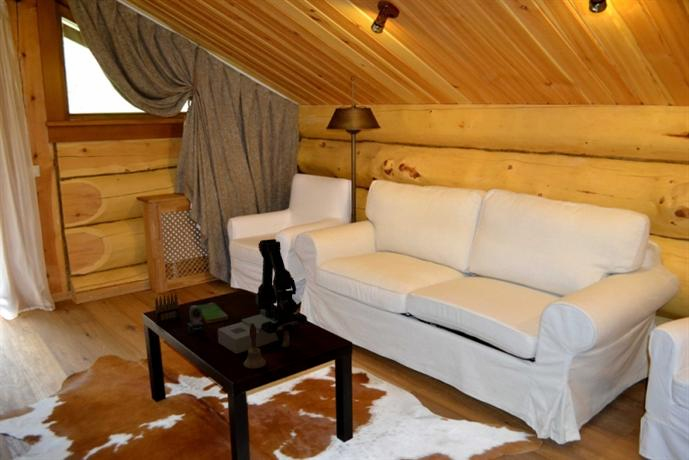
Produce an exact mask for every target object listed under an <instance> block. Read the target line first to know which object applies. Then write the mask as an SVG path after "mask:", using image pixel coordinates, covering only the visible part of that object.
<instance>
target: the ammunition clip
mask: <svg viewBox="0 0 689 460" xmlns="http://www.w3.org/2000/svg"><path fill="white" fill-rule="evenodd" d="M162 298H163V299H162ZM154 308H155V309H154V310H155V324H156V325H159V323H160V324H163V322H164V323H167V321H168V322H171V321H174V320H175V319H176V320H179V319H181V313H180V308H179V300H178V294H177V293H174V295H173V293H171V295H170V296H169V294H167V296H165V295H163V297H162V296H159V299H158V297H155V307H154Z"/></svg>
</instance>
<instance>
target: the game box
mask: <svg viewBox="0 0 689 460" xmlns="http://www.w3.org/2000/svg"><path fill="white" fill-rule="evenodd" d="M196 306H197V307H199V309H201V311H202V312H203V313H202V316H201V319H202V320H203V321H204V322H205V323H206V324H213V323H217V322H223V321H228V320H229V315H228V314H226V312H225V311H223V309H222V308H220V306H218V305H217V304H216V303H215V302H209V303H204V304H198V305H196Z"/></svg>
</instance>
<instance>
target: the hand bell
mask: <svg viewBox="0 0 689 460" xmlns="http://www.w3.org/2000/svg"><path fill="white" fill-rule="evenodd" d="M256 335H257V331H256V327H255V325H254V323H252V324H251V326H250V337H251V340H252V349H250V350H247V352H248V353H247V358H246V359H245V361H244V362H243V366H244V367H245V368H247V369H253V370H255V369H260V368H262V367H264V366H266V364H267V360H265V358H263V356H262V352H261V349H260V348H259V347H256Z"/></svg>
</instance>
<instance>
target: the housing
mask: <svg viewBox="0 0 689 460" xmlns="http://www.w3.org/2000/svg"><path fill="white" fill-rule="evenodd" d="M283 327H284V326H282V330H284V328H283ZM256 331H257V330H256ZM217 340H218V343H217V344H220V345H221V346H223V347H224V348H225V349H227V350H229V351H231V352H232V353H234V354H239V353H243V352H246V351H247V352H248V351H249V350H250V349H252V340H251V337H250V326H248V325H246V324H244V323H242V321H240V322H236V323H235V324H231V325H227V326H223V327H219V328H217ZM278 341H279V340H278V337H277V335H276V333H271V334H268V333H266V332H264V331H257V335H256V347H257V348H260V347H261V346H264V345H267V344H271V343H274V342H278Z"/></svg>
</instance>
